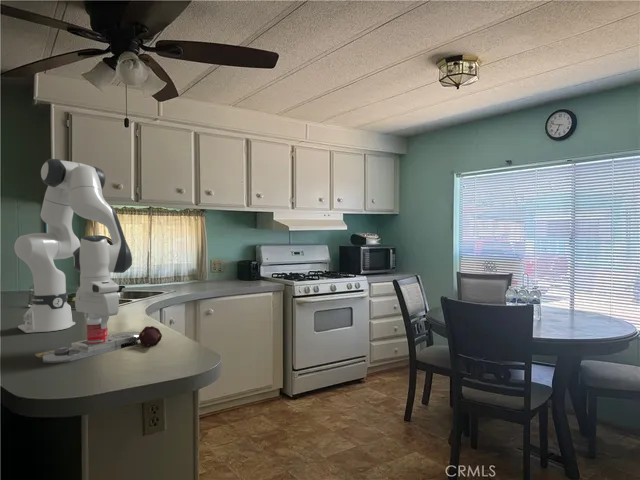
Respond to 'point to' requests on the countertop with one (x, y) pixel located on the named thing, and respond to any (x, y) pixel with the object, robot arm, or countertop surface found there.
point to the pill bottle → (95, 330)
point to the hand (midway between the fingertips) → (96, 327)
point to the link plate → (42, 353)
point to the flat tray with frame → (91, 348)
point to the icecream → (150, 336)
